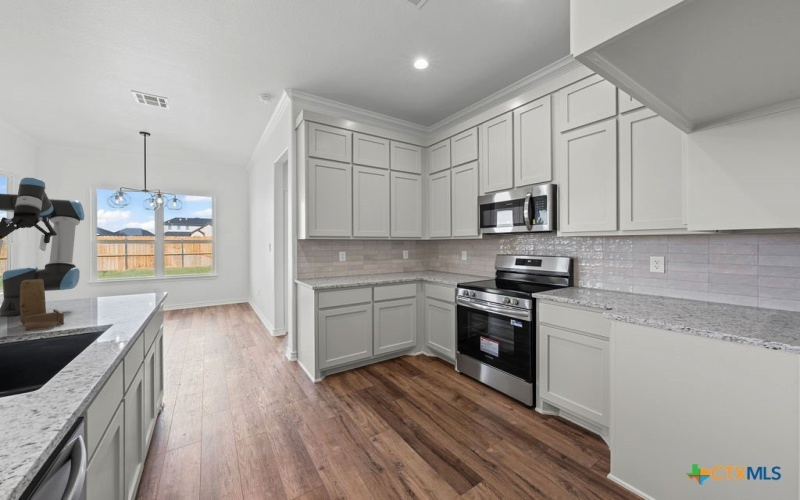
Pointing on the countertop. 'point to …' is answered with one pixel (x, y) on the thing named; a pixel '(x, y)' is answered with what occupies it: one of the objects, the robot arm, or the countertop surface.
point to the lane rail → (59, 316)
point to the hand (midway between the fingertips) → (19, 251)
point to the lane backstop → (40, 321)
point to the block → (32, 298)
